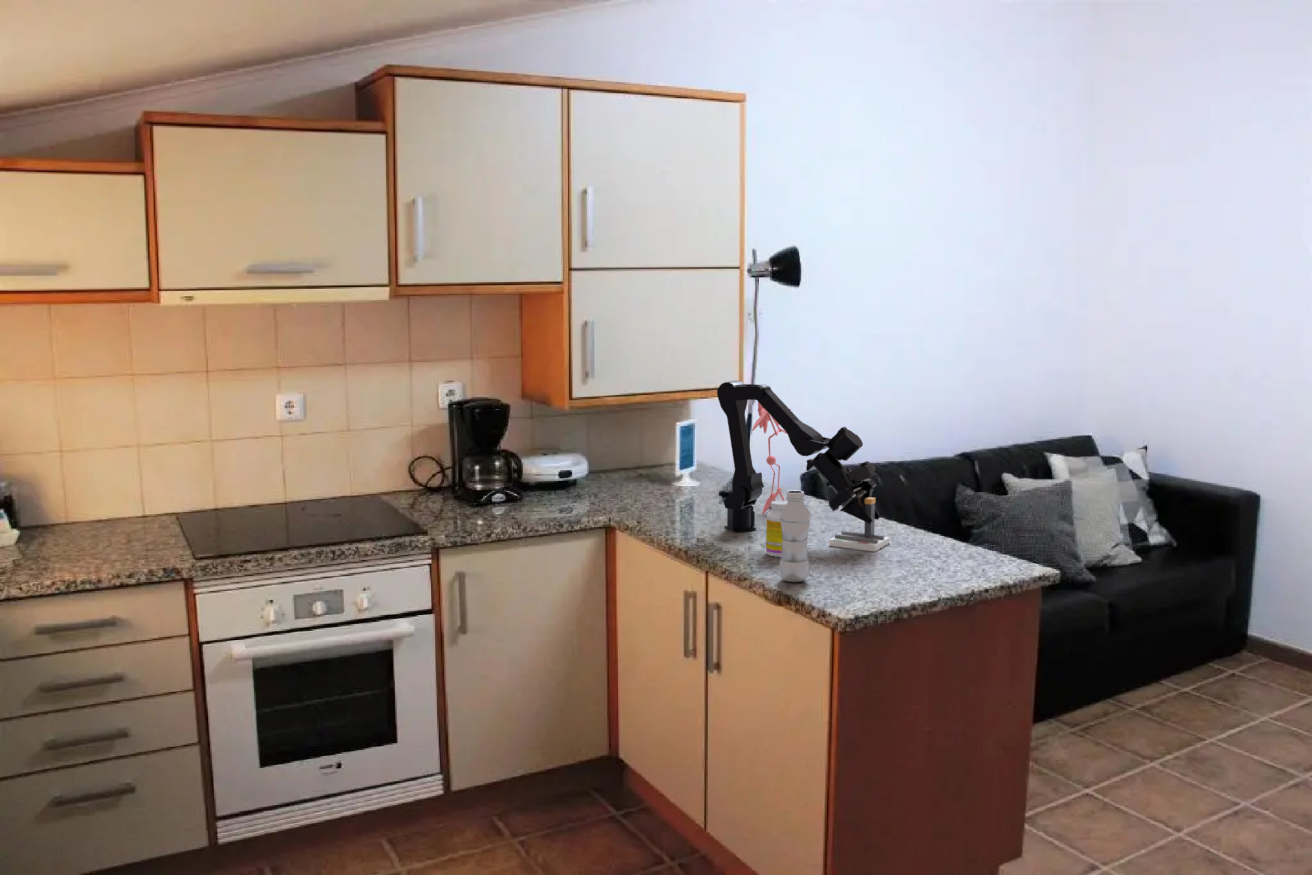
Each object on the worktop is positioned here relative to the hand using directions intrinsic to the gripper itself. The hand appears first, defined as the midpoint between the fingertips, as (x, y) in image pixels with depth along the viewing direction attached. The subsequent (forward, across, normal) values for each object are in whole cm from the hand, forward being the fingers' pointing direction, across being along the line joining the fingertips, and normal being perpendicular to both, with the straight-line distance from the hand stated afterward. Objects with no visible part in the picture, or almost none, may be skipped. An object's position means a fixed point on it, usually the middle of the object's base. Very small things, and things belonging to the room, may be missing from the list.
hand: (874, 520), depth 274 cm
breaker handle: (+2, 0, +4) cm, 5 cm away
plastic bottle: (+2, -40, +7) cm, 41 cm away
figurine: (-26, +25, +36) cm, 51 cm away
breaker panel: (+2, 0, +7) cm, 8 cm away
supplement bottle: (-7, -19, +17) cm, 26 cm away
